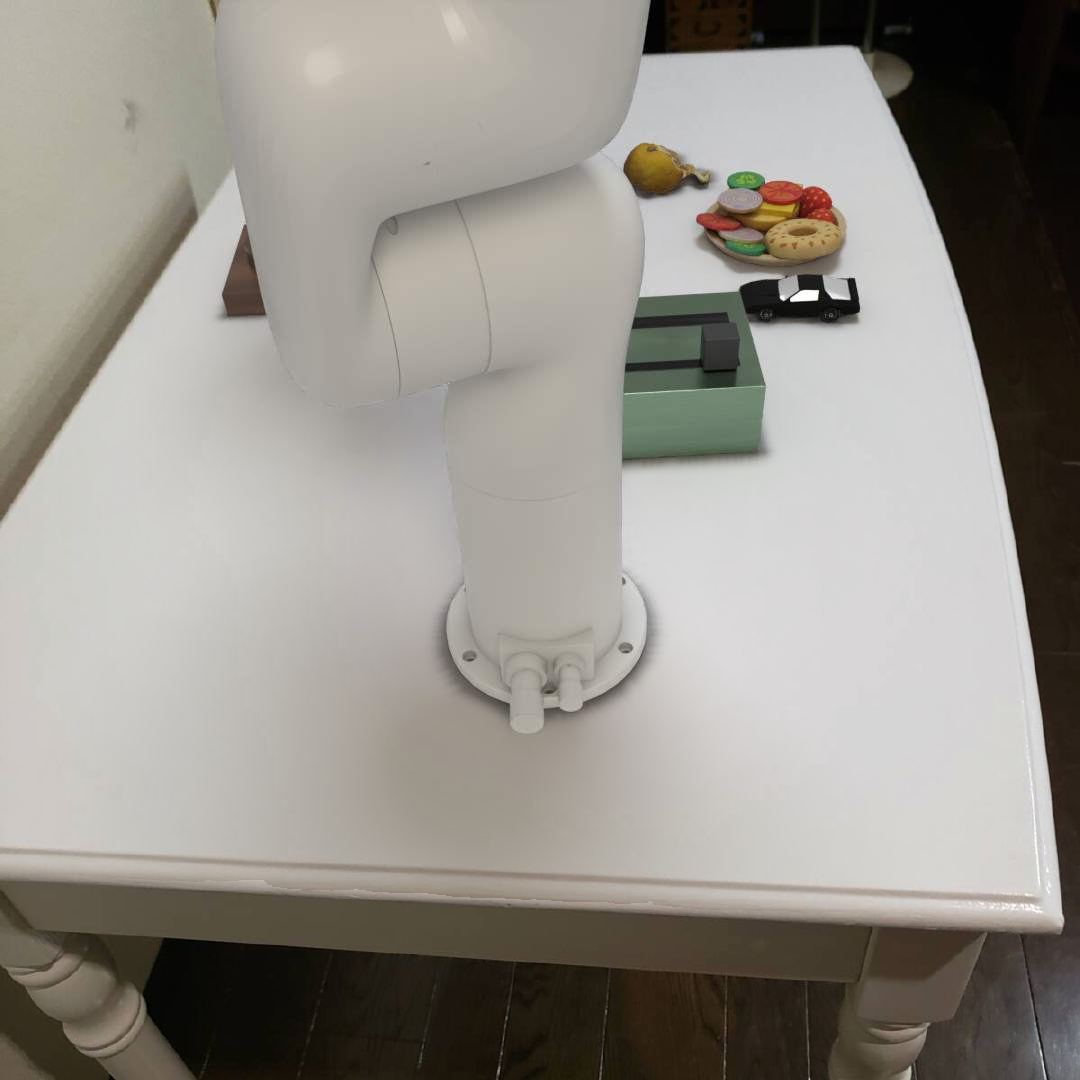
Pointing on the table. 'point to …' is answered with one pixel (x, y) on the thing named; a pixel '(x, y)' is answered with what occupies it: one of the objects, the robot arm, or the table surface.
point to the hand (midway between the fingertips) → (321, 70)
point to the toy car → (801, 297)
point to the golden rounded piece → (658, 168)
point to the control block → (243, 282)
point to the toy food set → (773, 221)
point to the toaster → (689, 381)
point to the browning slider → (719, 346)
